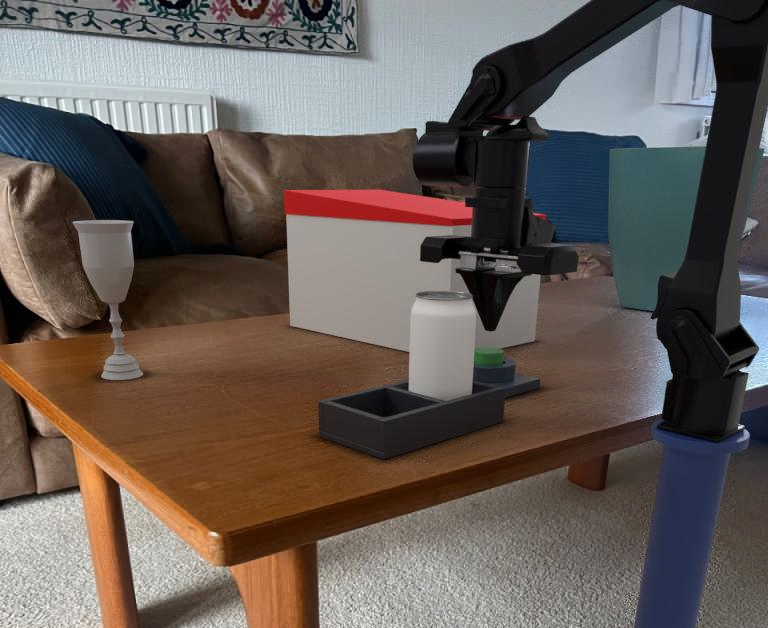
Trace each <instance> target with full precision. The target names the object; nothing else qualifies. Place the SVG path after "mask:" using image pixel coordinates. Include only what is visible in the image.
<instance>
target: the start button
mask: <svg viewBox="0 0 768 628" xmlns="http://www.w3.org/2000/svg"><path fill="white" fill-rule="evenodd" d="M504 356H505V353H504V349H503V348H500V349H498V348H490V347H482V348H476V349H474V364H478V365H487V366H493V365H502V364H503V357H504ZM504 358H505V357H504Z"/></svg>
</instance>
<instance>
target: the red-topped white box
mask: <svg viewBox="0 0 768 628" xmlns="http://www.w3.org/2000/svg"><path fill="white" fill-rule="evenodd" d="M283 196H284V197H283V198H284V199H283V201H284V215H285V216H286V217H285V218H286V243H287V247H286V249H287V271H288V272H287V275H288V303H289V305H288V306H289V326H290V327H294V328H298V329H303V330H308V331H313V332H317V333H321V334H326V335H329V336H330V335H331V336H335V337H339V338H340V337H341V338H344V339H349V340H353V341H356V342H357V341H358V342H363V343H367V344H372V345H376V346H380V347H385V348H388V349H389V348H390V349H392V350H393V349H394V350H399V351H404V352H407V353H410V320H411V309H412V307H413V305H414V303H415V301H416V295H415V294H416V293H419V292H424V291H458V292H465V293H469V294H470V292H469V290H468V288H467V286H466V284H465V282H464V280H463V278H462V276H461V275H460V274H458V273H456V272H455V269H456V268H460V259H452V258H450V259H443V260H441V261H440V263H431V262H422V261H420V246H421V244H422V242H423V241H424V239H425V238H426V237H429V236H445V235H455V236H471V227H472V208H473V207H465V201H459V200H457V201H456V200H451V199H444V198H438V197H431V196H424V195H418V194H411V193H406V192H405V193H404V192H399V191H390V190H384V189H284V190H283ZM533 214H534V215H536V216H539V217H541V218H542V219H544V220H545V221H547V214H543V213H537V212H533ZM484 250H490V248H484ZM503 252H508V251H503ZM495 263H496V262H494V266H495ZM541 276H542V275H536V274H532V275H531V276H525V277H524V278H523V279H522V280H521V281H520V282H519V283H518V284H517V285H516V286H515V288H514V290H513V292H512V294H511V296H510V298H509V300H508V302H507V304H506V307H505V309H504V312H503V314H502V316H501V319H500V321H499V323H498V326H497V328H496V330H495V331H491V332H490V331H485V329H484V327H483V324H482V321H481V319H480V316H479V314H478V311H477V309H476V306H475V304H474V301H473V299H472V302H473V305H474V307H475V310H476V329H475V347H474V349H476V348H482V347H490V348H498V349H504V348H510V347H514V346H518V345H522V344H527V343H532V342H535V341H536V331H537V321H538V309H539V296H540V287H541Z"/></svg>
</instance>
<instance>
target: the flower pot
mask: <svg viewBox="0 0 768 628" xmlns="http://www.w3.org/2000/svg"><path fill="white" fill-rule="evenodd" d="M705 149H706V145H705V146H703V145H702V146H699V145H698V146H697V145H696V146H663V147H662V146H660V147H659V146H657V147H655V146H653V147H621V148H611V149H610V150H609V169H608V170H609V171H608V173H609V174H608V175H609V176H608V177H609V178H608V209H607V211H608V212H607V213H608V214H607V215H608V216H607V232H608V233H607V235H608V248H609V249H608V250H609V257H610V263H611V269H612V276H613V281H614V285H615V289H616V293H617V296H618V300H619V304H620V306H621V307H622V308H626V309H634V310H641V311H649V312H654V310H655V308H656V304H657V298H658V281H659V277H660V276H662V275H666V274H671V273H676V272H677V271H678V269H679V268H680V266H681V264H682V262H683V260H684V258H685V255H686V252H687V247H688V241H689V236H690V231H691V225H692V220H693V214H694V209H695V203H696V198H697V192H698V187H699V181H700V176H701V170H702V165H703V159H704V154H705ZM764 153H765V148H762V147H761V148H760V147H759V152H758V157H757V162H756V166H755V171H754V176H753V181H752V186H751V190H750V195H749V200H748V205H747V210H746V214H745V219H744V224H743V229H742V233H741V238H740V243H741V241H742V238H743V235H744V231H745V229H746V224H747V221H748V217H749V213H750V209H751V204H752V202H753V196H754V193H755V188H756V185H757V180H758V176H759V172H760V168H761V164H762V160H763V156H764ZM740 243H739V245H740Z"/></svg>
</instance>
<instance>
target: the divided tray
mask: <svg viewBox="0 0 768 628" xmlns="http://www.w3.org/2000/svg"><path fill="white" fill-rule="evenodd" d="M505 391H506V388H504V387H499V386H495V385H491V384H487V383H482V382H478V381H474V380H473V382H472V394H471V395H467V396H463V397H460V398H456V399H452V400H449V401H444V400H440V399H436V398H433V397H429V396H425V395H422V394H418V393H414V392H410V391H409V379H405V380H401V381H397V382H392V383H389V384H388V383H387V384H384V385H380V386H376V387H370V388H367V389H363V390H359V391H355V392H351V393H350V392H349V393H346V394H342V395H338V396H333V397H329V398H325V399H319V400H318V402H317V403H318V404H317V405H318V407H317V408H318V409H317V410H318V437H319V438H322V439H325V440H327V441H331V442H334V443H335V444H339V445H342V446H344V447H348V448H350V449H352V450H355V451H359V452H361V453H363V454H367V455H369V456H373V457H376V458H378V459H381V460H387V459H391V458H393V457H398V456H400V455H403V454H406V453H409V452H412V451H415V450H418V449H422V448H424V447H429V446H431V445H434V444H437V443H440V442H444V441H447V440H450V439H453V438H456V437H459V436H462V435H466V434H468V433H472V432H475V431H478V430H481V429H485V428H487V427H490V426H495V425H497V424H500V423H503V422H504V415H505V402H506V398H505Z"/></svg>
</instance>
